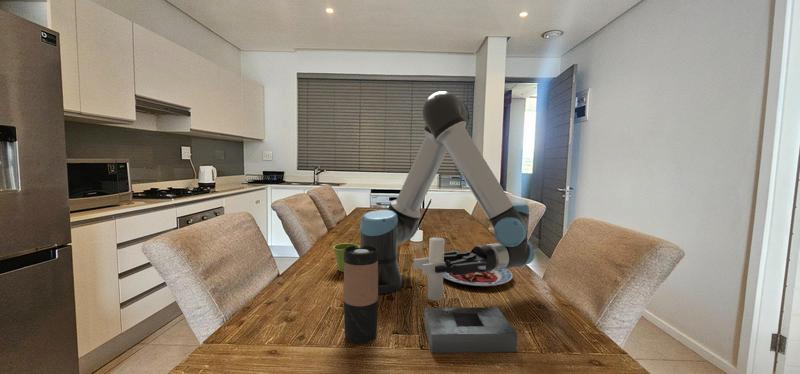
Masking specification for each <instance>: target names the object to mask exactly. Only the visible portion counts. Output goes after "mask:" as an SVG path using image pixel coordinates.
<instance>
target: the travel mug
mask: <svg viewBox="0 0 800 374" xmlns="http://www.w3.org/2000/svg"><path fill="white" fill-rule="evenodd" d="M378 303H379V294H378V249H377V248H376V247H374V246H369V245H365V246H364V247H361V248H360V247H359V248H357V247H355V246H350V247H347V248H345V250H344V272H343V313H344V315H343V316H344V317H343V318H344V319H343V321H344V338H345V340H346V339H347V340H348V341H349V343H350V342H351V344H353V343H355V344H354V345H365V344H368V342H369V343H371V342H373V341H374V340H375V339H376V337H377V331H378V330H377V329H378V306H379V305H378ZM374 338H375V339H374ZM373 339H374V340H373ZM347 340H346V341H347ZM372 340H373V341H372ZM348 341H347V342H348ZM370 341H371V342H370ZM364 343H365V344H364Z"/></svg>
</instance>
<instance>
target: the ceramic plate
mask: <svg viewBox="0 0 800 374" xmlns="http://www.w3.org/2000/svg"><path fill="white" fill-rule="evenodd" d="M443 279H446V280H448V281H451V282H454V283H458V284H462V285H467V286H474V287H475V286H476V287H490V286H491V287H492V286H498V285H499V286H500V285H503V284H507V283H508V282H510V281H512V279H513V273H512V271H510V270H509V269H508V268H504V269H497V271H494V270H491V271H486V272H475V273H467V274H460V275H452V273H446V272H445V273H443Z"/></svg>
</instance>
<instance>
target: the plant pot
mask: <svg viewBox="0 0 800 374" xmlns="http://www.w3.org/2000/svg"><path fill="white" fill-rule="evenodd" d="M350 246H355V247H357V248H360V245H359V244H356V243H338V244H335V245H333V247H332V248H333V250H334V252H335V257H336V266H337V270H339V271H338V272H340V271H341V273H344V250H345V248H347V247H350Z"/></svg>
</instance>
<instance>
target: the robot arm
mask: <svg viewBox="0 0 800 374" xmlns="http://www.w3.org/2000/svg"><path fill="white" fill-rule="evenodd" d="M421 113H422V118H423V121H424V123H425V125H424V128H423V132H424V135H425V136H424V139H423V142H422V144H421V146H420V148H419V150H418V152H417V155H416V157H415V159H414V161H413V163H412V166H411V167H410V170H409V172H408V174H407V176H406V179H405V181H404V183H403V185H402V187H401V189H400V191H399V194H398V196H397V198H396V199H393V200H391V201H390V203H389V205H388V208H387V209H376V210H372V211H368V212H366V213H364V214H363V215H362V216H361V218H360V225H359V232H360V235H359V236H360V239H359V240H360V245H359V246H360V247H359V248H361V247H364V246H365V245H369V246H374V247H376V248H377V249H378V295H383V294H391V293H393V292H397V291H399V290H400V289H401V288H402V286H403V276H402V274H401V270H400V267H399V265H398V258H397V257H398V246H399V245H402V244H403V243H405V242H408V241H410V240H411V239H412V238H413V237H414V236H415V235H416V233H417V231H418V230H419V220H420V218H421V216H422V215H421V214H422V213H421V212H420V208H421V206H422V204H423V203H424V200H425V198H426V197H427V194H428V192H429V190H430V187H431V186H432V183H433V181H434V179H435V177H436V175H437V173H438V171H439V170H440V166H441V165H442V163H443V161H444V159H445V157H446V154H448V155H449V157H450V159H451V160H452V161H453V163H454V165H455V166H456V168H457V170H458V171H459V173H460V175H461V176H462V178H463V180H464V181H465V184H466V185H467V187H468V188H469V190H470V191H471V193H472V195H473V197H475V200H476V202H477V204H478V205H479V206H480V208H481V210H482V211H483V212H484V215H485V216H486V217H487V219H488V221H489V224H490V225H491V226H492V228H493V233H494V237H495V240H496V241H497V243H496V242H495V243H488V244H481V245H476V246H474V247H472V249H471V251H468V250H467V251H463V252H460V250H459V249H454V250H449V251H444V262H437V263H429V256H428V257H421V258H414V259H413V267H412V268H413V270H414V271H415V270H421V275H422V276H428V275H432V274H438V273H445V272H446V273H452V275H460V274H467V273H475V272H486V271H491V270H494V271H497V269H504V268H506V269H508V268H518V267H519V268H520V267H523V266H527V265H529V264H531V263H532V262H533V261H534V259H535V257H536V251H535V250H534V246H533V244H531V243H530V241H528V231H529V221H530V206H529V205H528V204H526V203H523V202H512V201H511V199H510V198H509V196H508V195H507V193H506V192H505V190H504V188H503V187H502V185H501V183H500V182H499V181H498V179H497V177H496V175H495V174H494V172H493V170H492V169H491V167H490V166H489V165H488V163H487V161H486V160H485V157H484V156H483V155H482V153H481V151H480V150H479V147H477V145H476V143H475V141H474V140H473V138H472V137H471V135H470V133H469V132H468V130H467V129H468V128H469V126H470V122H471V112H470V109H469V106H468V105H467V104H466V103H465V102H464V101H463V100H461V99H460V98H459V97H457V96H456V95H454V94H453V92H452V93H451V92H449V91H444V90H443V91H442V90H440V91H436V92H434V93H432V94H431V95H430V96H428V97H427V98H426V100H425V102H424V103H423V106H422V112H421Z"/></svg>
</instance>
